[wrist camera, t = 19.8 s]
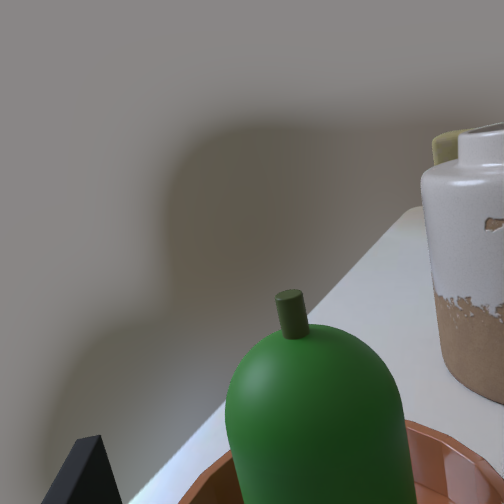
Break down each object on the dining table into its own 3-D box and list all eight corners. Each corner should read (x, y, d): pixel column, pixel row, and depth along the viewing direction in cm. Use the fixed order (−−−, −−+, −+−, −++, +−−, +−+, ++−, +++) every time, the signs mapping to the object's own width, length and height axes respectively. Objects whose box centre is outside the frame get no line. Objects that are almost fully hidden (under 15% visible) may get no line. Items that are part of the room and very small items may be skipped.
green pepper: (255, 664, 17) (170, 345, 14) (279, 519, 23) (223, 278, 21) (446, 673, 16) (393, 319, 13) (416, 516, 22) (376, 255, 19)
